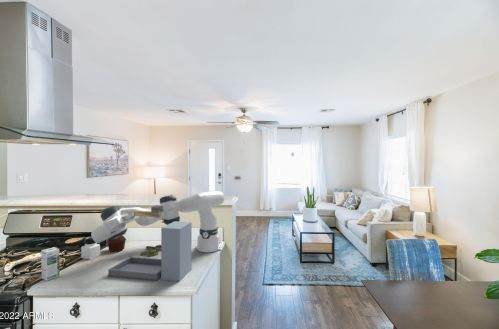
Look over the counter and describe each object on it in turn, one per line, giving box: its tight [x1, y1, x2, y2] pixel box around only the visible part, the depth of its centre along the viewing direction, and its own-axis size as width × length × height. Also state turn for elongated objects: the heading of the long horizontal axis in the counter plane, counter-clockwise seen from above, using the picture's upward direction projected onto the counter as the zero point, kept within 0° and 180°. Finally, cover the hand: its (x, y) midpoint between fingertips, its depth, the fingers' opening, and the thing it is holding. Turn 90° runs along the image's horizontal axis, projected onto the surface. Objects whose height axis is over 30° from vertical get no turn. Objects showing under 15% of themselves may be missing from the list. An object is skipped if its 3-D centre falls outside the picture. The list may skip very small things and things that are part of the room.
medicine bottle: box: [80, 236, 101, 260], centre depth 158 cm, size 7×7×12 cm
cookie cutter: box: [140, 244, 161, 258], centre depth 168 cm, size 18×12×2 cm, turn 6°
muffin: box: [106, 235, 127, 253], centre depth 170 cm, size 12×11×10 cm
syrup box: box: [40, 246, 61, 282], centre depth 130 cm, size 6×6×14 cm
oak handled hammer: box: [129, 204, 163, 217], centre depth 137 cm, size 5×18×6 cm, turn 79°
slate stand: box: [160, 221, 193, 282], centre depth 134 cm, size 14×10×26 cm
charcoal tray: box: [107, 256, 161, 282], centre depth 138 cm, size 18×27×4 cm, turn 79°
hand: (136, 212), depth 138 cm, fingers closed on oak handled hammer, 3 cm apart
